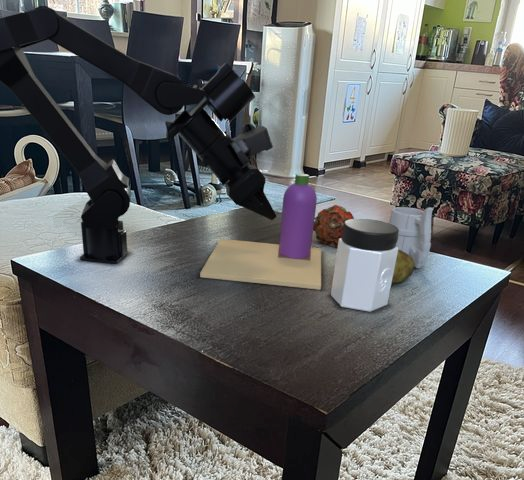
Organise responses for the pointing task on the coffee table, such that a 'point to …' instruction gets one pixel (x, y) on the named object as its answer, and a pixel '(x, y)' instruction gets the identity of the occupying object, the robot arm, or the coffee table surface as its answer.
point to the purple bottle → (297, 219)
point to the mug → (413, 232)
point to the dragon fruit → (331, 224)
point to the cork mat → (262, 265)
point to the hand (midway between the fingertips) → (268, 211)
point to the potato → (402, 267)
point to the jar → (365, 264)
